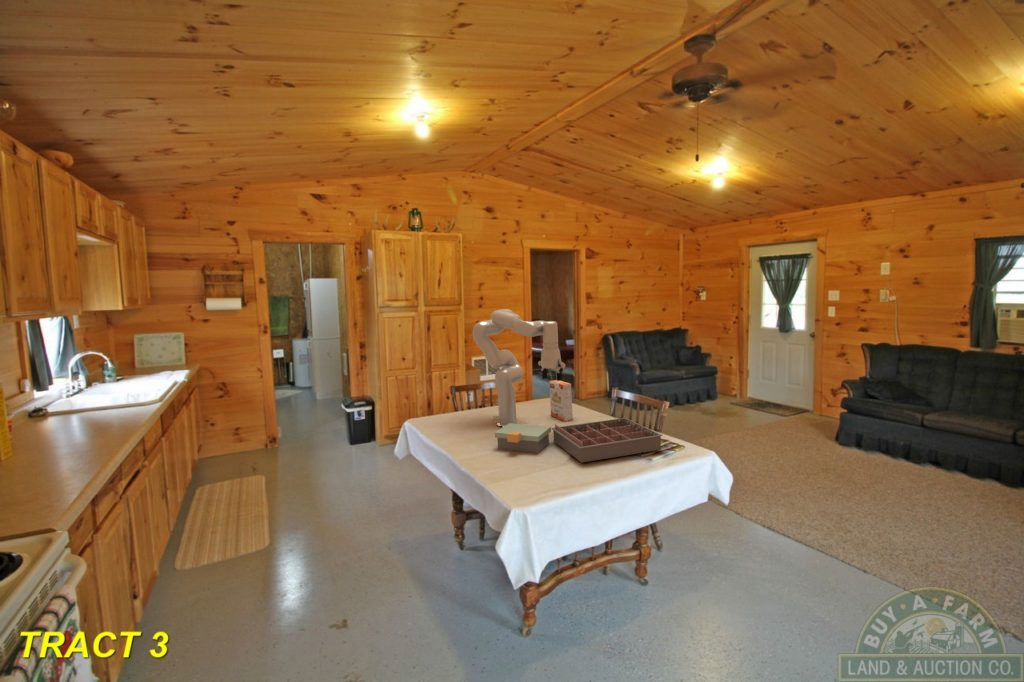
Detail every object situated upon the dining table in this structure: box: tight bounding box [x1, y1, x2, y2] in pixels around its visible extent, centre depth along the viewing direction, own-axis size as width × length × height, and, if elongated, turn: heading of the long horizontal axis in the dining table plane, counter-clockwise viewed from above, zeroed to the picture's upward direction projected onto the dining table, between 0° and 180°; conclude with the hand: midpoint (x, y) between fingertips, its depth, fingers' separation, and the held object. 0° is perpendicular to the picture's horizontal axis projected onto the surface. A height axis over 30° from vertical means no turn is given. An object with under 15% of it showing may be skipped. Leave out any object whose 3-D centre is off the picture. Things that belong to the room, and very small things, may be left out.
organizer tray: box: [551, 417, 663, 463], centre depth 228 cm, size 32×40×10 cm
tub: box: [497, 433, 550, 454], centre depth 233 cm, size 20×14×8 cm
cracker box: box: [549, 379, 574, 422], centre depth 280 cm, size 14×6×21 cm, turn 28°
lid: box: [494, 423, 552, 443], centre depth 231 cm, size 22×20×4 cm
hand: (552, 379), depth 252 cm, fingers open, 9 cm apart
